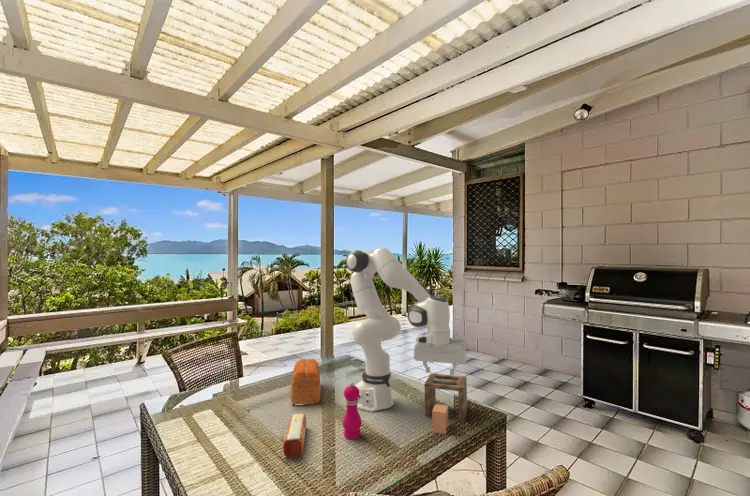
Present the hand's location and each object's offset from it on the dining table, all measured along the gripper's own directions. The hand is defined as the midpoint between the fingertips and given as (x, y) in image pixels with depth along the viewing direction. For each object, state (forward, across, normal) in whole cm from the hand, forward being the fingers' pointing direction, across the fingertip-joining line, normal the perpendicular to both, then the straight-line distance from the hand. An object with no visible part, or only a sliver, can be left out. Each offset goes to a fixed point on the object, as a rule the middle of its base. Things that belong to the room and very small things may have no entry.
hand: (440, 373), depth 136 cm
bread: (+21, +69, -15) cm, 74 cm away
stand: (+21, 0, -16) cm, 27 cm away
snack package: (+22, +50, +26) cm, 60 cm away
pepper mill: (+22, +32, +15) cm, 41 cm away
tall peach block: (+22, 0, 0) cm, 22 cm away
